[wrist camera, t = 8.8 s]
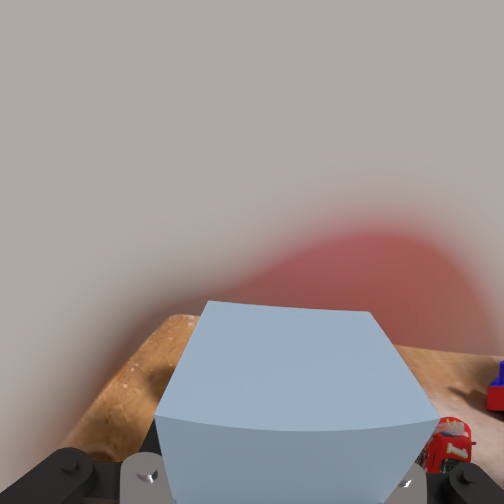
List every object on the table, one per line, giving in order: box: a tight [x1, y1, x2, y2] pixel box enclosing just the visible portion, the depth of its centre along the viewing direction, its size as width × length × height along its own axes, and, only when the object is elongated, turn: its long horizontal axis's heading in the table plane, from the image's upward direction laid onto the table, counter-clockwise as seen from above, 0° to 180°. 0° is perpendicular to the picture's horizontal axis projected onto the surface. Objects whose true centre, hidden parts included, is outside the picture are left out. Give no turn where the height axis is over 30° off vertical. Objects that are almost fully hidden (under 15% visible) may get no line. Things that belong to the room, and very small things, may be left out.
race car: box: [420, 417, 476, 473], centre depth 18 cm, size 13×5×4 cm, turn 145°
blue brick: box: [154, 301, 441, 504], centre depth 7 cm, size 4×4×10 cm
